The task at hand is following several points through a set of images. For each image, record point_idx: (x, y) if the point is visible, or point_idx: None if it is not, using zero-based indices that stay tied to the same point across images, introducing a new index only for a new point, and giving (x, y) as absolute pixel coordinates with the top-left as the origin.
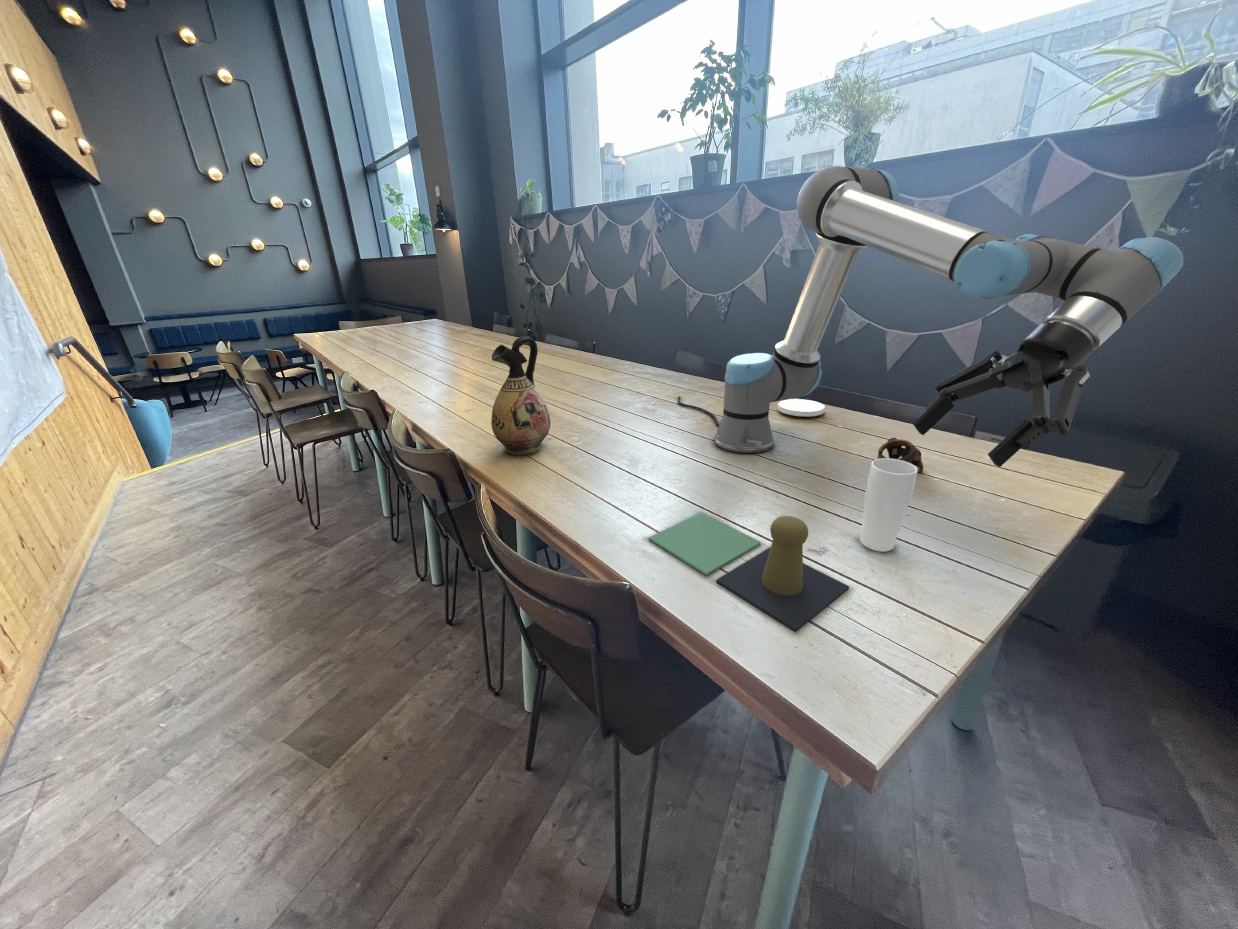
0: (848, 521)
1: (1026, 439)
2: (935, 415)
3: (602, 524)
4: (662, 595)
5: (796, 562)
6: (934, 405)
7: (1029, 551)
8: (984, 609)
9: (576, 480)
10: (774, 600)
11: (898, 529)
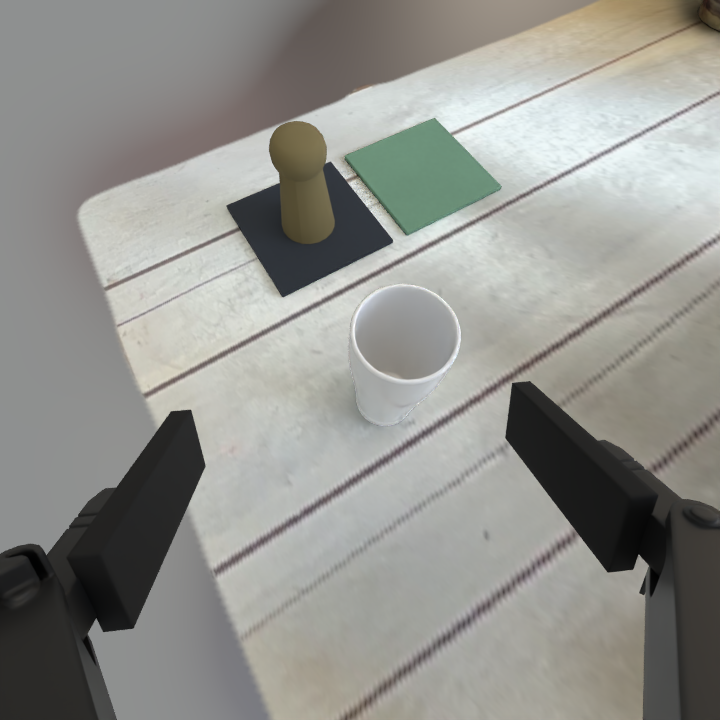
0: (467, 397)
1: (84, 508)
2: (551, 460)
3: (477, 84)
4: (319, 116)
5: (280, 189)
6: (588, 444)
7: (312, 714)
8: None
9: (611, 69)
10: (277, 203)
11: (359, 402)
